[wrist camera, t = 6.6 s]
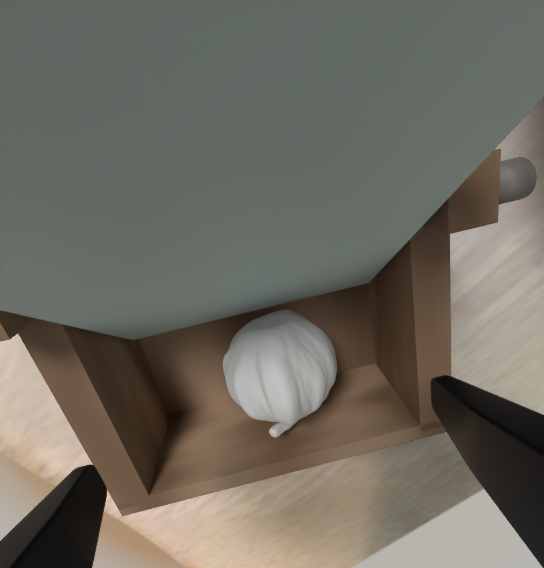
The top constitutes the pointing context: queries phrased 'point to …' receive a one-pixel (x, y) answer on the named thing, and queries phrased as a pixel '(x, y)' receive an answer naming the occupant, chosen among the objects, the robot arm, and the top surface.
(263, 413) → the garlic
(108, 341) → the frame
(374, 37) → the trapdoor plate
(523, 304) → the top surface
